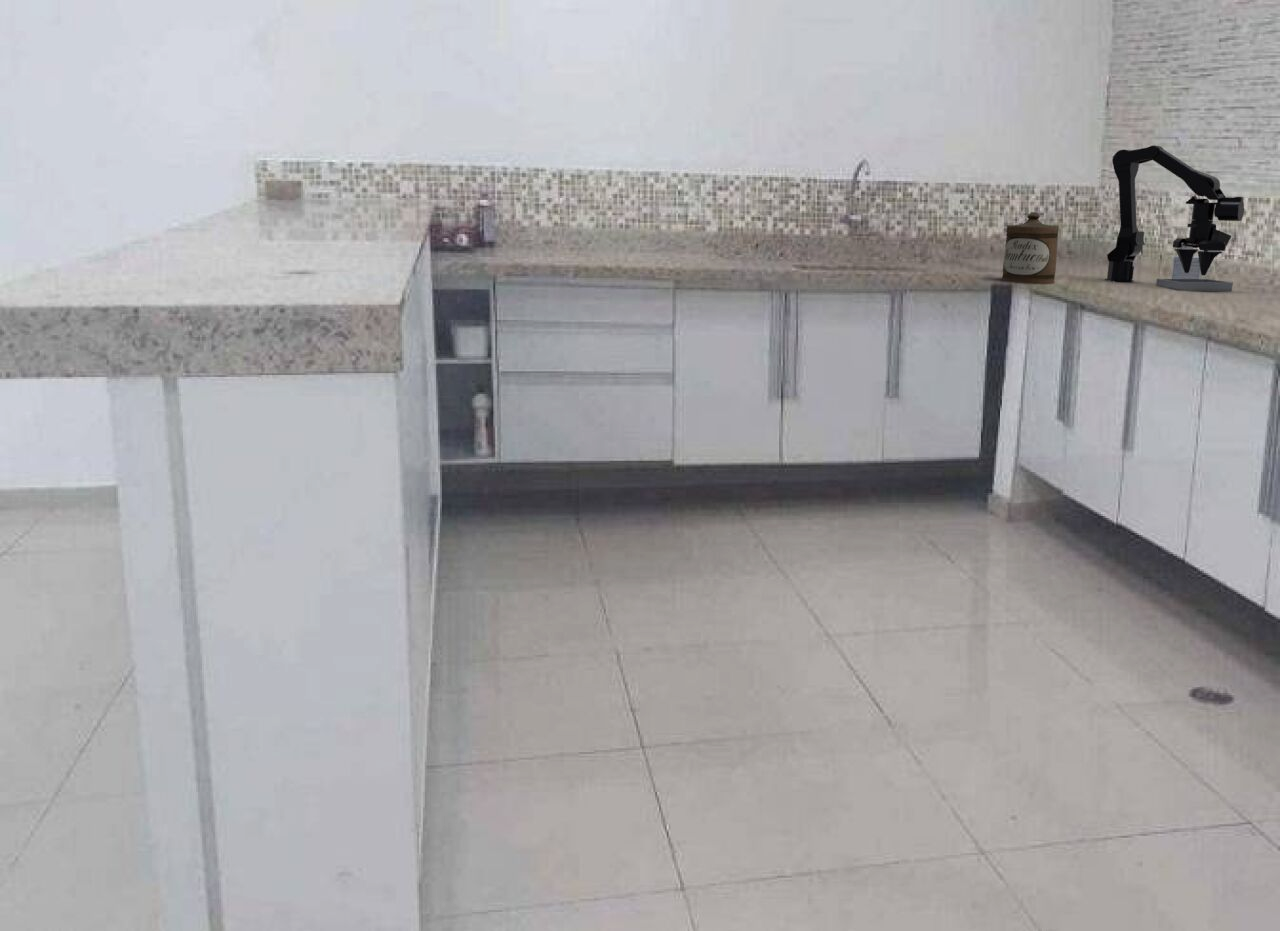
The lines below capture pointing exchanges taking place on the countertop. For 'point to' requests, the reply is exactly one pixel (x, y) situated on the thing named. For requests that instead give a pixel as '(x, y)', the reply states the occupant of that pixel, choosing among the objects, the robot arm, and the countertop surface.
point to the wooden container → (1031, 252)
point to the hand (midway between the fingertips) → (1194, 274)
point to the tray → (1195, 284)
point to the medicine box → (1193, 272)
